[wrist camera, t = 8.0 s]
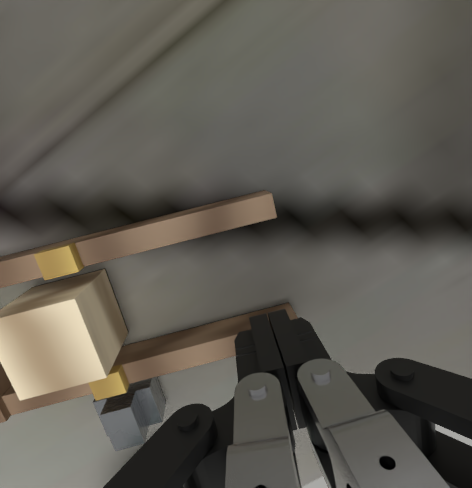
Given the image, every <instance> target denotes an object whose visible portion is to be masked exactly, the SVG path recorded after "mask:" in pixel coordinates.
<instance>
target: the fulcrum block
mask: <svg viewBox="0 0 472 488" xmlns="http://www.w3.org/2000/svg"><path fill="white" fill-rule="evenodd" d="M93 404H94V406H95V408H96V411H97V413H98V415H99V418H100V420H101V422H102V425H103V427H104V429H105V432H106V434H107V436H109V437H110V440H111V442H112V444H113V447H114V449H115V451H118V450H122V449H125V448H129V447H133V446H136V445H140V444H144V443H145V439H146V435H147V431H148V426H149V425H152V424H156V423H160V422H162V421H163V415H164V409H165V404H166V401H165V398H164V395H163V392H162V389H161V387H160V384H159V381H158V378H157V377H153V378H149V379H146V380H142V381H138V382H134V383H130V384H129V387H128V390H127V392H126V393H124V394H120V395H116V396H112V397H109V398H105V399H101V400H97V401H96V400H95V399H94V401H93Z"/></svg>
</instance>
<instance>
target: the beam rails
mask: <svg viewBox="0 0 472 488" xmlns="http://www.w3.org/2000/svg"><path fill="white" fill-rule="evenodd" d="M273 218H277V215H276V211H275V206H274V201H273V196H272V193H270V192H268V191H265V190H263V191H259V192H255V193H252V194H248V195H244V196H240V197H236V198H232V199H228V200H224V201H220V202H216V203H212V204H208V205H204V206H200V207H196V208H192V209H188V210H184V211H180V212H176V213H172V214H168V215H164V216H160V217H156V218H153V219H149V220H145V221H141V222H137V223H133V224H129V225H125V226H121V227H117V228H113V229H109V230H105V231H101V232H97V233H93V234H89V235H85V236H81V237H77V238H73V239H69V240H65V241H61V242H57V243H54V244H50V245H46V246H42V247H38V248H34V249H30V250H26V251H22V252H18V253H14V254H10V255H6V256H2V257H0V288H2V287H6V286H10V285H14V284H18V283H22V282H26V281H30V280H34V279H37V278H41V277H43V278H44V280H49V279H52V278H56V277H60V276H64V275H68V274H72V273H76V272H79V271H80V270H82V269H83V268H84V266H88V265H92V264H96V263H100V262H104V261H108V260H112V259H116V258H120V257H124V256H128V255H132V254H135V253H139V252H143V251H147V250H151V249H155V248H159V247H163V246H167V245H171V244H175V243H179V242H183V241H186V240H190V239H194V238H198V237H202V236H206V235H210V234H214V233H218V232H222V231H226V230H230V229H234V228H237V227H241V226H245V225H249V224H253V223H257V222H261V221H265V220H269V219H273ZM281 309H285V310H286V312H287V314H288V316H289V318H290V320H293V319H297V318H298V317H297V316H296V314H295V312H294V311H293V309H292V307H291V306H290V304H289V303H286V304H282V305H278V306H274V307H271V308H267V309H263V310H259V311H255V312H252V313H248V314H244V315H240V316H236V317H232V318H229V319H225V320H221V321H217V322H213V323H210V324H206V325H202V326H198V327H194V328H191V329H187V330H183V331H179V332H175V333H171V334H168V335H164V336H160V337H156V338H152V339H149V340H145V341H141V342H137V343H133V344H130V345H126V346H122V347H121V349H120V351H119V353H118V355H117V357H116V359H115V362H114V364H113V366H112V368H111V370H110V372H109V374H108V376H107V378H104V379H100V380H96V381H93V382H89V383H85V384H81V385H77V386H74V387H70V388H66V389H62V390H59V391H55V392H51V393H47V394H43V395H40V396H36V397H32V398H28V399H25V400H21V401H20V400H19V398H18V396H17V394H16V392H15V390H14V388H13V386H12V384H11V382H10V380H9V378H8V376H7V374H6V372H5V370H4V368H3V366H2V364H1V362H0V423H1V422H5V421H7V420H8V418H9V417H10V416H11V415H14V414H17V413H21V412H25V411H29V410H33V409H36V408H40V407H44V406H48V405H51V404H55V403H59V402H63V401H66V400H70V399H74V398H78V397H82V396H85V395H89V394H93V395H94V398H95V400H96V401H97V400H101V399H105V398H109V397H112V396H116V395H120V394H124V393H126V392H127V390H128V387H129V384H130V383H134V382H138V381H142V380H146V379H149V378H153V377H157V376H161V375H164V374H168V373H172V372H176V371H179V370H183V369H187V368H191V367H195V366H198V365H202V364H206V363H210V362H213V361H217V360H221V359H225V358H228V357H232V356H236V353H235V343H234V340H235V338H236V336H237V334H238V333H239V332H241V331H246V330H250V329H251V325H250V320H249V317H251V316H255V315H260V314H264V313H266V314H267V317H268V312H272V311H276V310H281ZM268 320H269V319H268Z"/></svg>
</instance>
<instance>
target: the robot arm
mask: <svg viewBox="0 0 472 488" xmlns="http://www.w3.org/2000/svg"><path fill="white" fill-rule="evenodd" d="M268 319H269V320H268ZM249 320H250V325H251V329H250V330H246V331H241V332H239V333H238V334H237V336H236V338H235V340H234V343H235V353H236V363H237V373H238V384H237V386H236V388H235V396H234V397H233V398H232V399H231V400H230V401H229V402H228V403H227V404H225V405H224V406H222V407H220V408H218V409H216V410H214V411H211V410H210V408H209V407H207V406H206V405H203V404H191V405H187V406H185V407H182V408H181V409H179V410H177V411H176V412H175V413H174V414H173V415H171V417H170V418H169V419H168V420H167V421H166V422H165V423H164V424H163V425H162V426H161V427H160V428H159V429H158V430H157V431H156V432H155V433H154V434H153V436H152V437H151V438H150V439H149V440H148V441H147V442H146V443H145V444H144V445H143V446H142V447H141V448H140V449H139V450H138V451H137V452H136V453H135V455H134V456H133V457H132V458H131V459H130V460H129V461H128V462H127V463H126V464H125V465H124V466H123V467H122V468H121V469H120V470H119V471H118V472H117V473H116V475H115V476H114V477H113V478H112V479H111V480H110V481H109V482H108V483H107V484H106V485H105V486H104V487H103V488H302V486H301V481H300V475H299V470H298V465H297V459H296V454H295V439H294V435H293V430H297V426H296V421H295V417H296V420H297V423H298V426H299V429H300V428H305V427H307V430H308V433H309V436H310V441H311V446H312V450H313V453H314V455H315V458H316V460H317V463H318V465H319V467H320V470H321V472H322V474H323V477H324V479H325V481H326V483H327V486H328V488H472V446H469V445H467V444H465V443H463V442H460V441H458V440H456V439H453V438H452V437H449V436H447V435H445V434H442V433H440V432H438V431H436V430H435V424H437V425H440V426H442V427H444V428H447V429H449V430H451V431H453V432H456V433H458V434H460V435H463V436H465V437H467V438H470V439H472V379H470V378H467V377H464V376H461V375H458V374H454V373H451V372H448V371H445V370H442V369H439V368H435V367H432V366H429V365H426V364H423V363H419V362H416V361H413V360H409V359H404V358H392V359H387V360H384V361H382V362H381V363H379V364H378V365H377V367H376V369H375V374H355V373H350V372H346V371H345V370H344V369H343V367H342V366H341V365H340V364H338V363H337V362H335V361H333V360H331V358H330V356H329V355H328V353H327V351H326V350H325V348H324V346H323V344H322V343H321V341H320V339H319V338H318V336H317V334H316V332H315V331H314V329H313V327H312V326H311V324H310V323H309V322H308V321H306V320H304V319H303V318H297V319H293V320H290V318H289V316H288V314H287V312H286V310H285V309H281V310H276V311H272V312H268V317H267V314H266V313H264V314H260V315H255V316H251V317H249ZM293 410H294V412H293ZM294 413H295V417H294Z"/></svg>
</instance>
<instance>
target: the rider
mask: <svg viewBox="0 0 472 488" xmlns="http://www.w3.org/2000/svg"><path fill="white" fill-rule="evenodd" d="M127 334H128V331H127V328H126V325H125V323H124V320H123V317H122V315H121V312H120V309H119V306H118V304H117V301H116V298H115V296H114V293H113V290H112V287H111V285H110V282H109V279H108V277H107V274H106V271H105V269H102V270H98V271H95V272H91V273H87V274H83V275H79V276H75V277H71V278H67V279H63V280H59V281H55V282H52V283H48V284H44V285H40V286H36V287H32V288H31V289H29V290H28V291H26V292H25V293H23V294H22V295H21V296H19V297H18V298H16V299H15V300H13V301H12V302H10V303H9V304H8V305H6V306H5V307H3V308H2V309H0V362H1V364H2V366H3V368H4V370H5V372H6V374H7V376H8V378H9V380H10V382H11V384H12V386H13V388H14V390H15V392H16V394H17V396H18V398H19V400H20V401H21V400H25V399H28V398H32V397H36V396H40V395H43V394H47V393H51V392H55V391H59V390H62V389H66V388H70V387H74V386H77V385H81V384H85V383H89V382H93V381H96V380H100V379H104V378H107V376H108V374H109V372H110V370H111V368H112V366H113V364H114V362H115V359H116V357H117V355H118V353H119V351H120V349H121V347H122V345H123V343H124V341H125V338H126V336H127Z"/></svg>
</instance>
